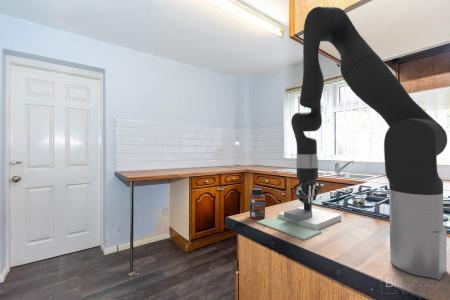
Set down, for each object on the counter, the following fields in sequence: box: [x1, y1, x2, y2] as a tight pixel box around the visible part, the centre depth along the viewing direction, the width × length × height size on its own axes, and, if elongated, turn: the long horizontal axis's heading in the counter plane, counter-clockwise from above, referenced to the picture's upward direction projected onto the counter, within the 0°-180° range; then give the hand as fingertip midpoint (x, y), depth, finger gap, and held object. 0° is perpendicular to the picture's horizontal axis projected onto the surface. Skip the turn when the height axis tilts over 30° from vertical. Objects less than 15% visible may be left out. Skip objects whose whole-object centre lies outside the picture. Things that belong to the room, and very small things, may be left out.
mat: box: [256, 216, 322, 241], centre depth 77 cm, size 20×9×1 cm, turn 36°
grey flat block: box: [283, 207, 312, 222], centre depth 81 cm, size 6×8×2 cm
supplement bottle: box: [249, 187, 266, 220], centre depth 88 cm, size 6×6×11 cm
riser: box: [277, 205, 342, 231], centre depth 84 cm, size 16×16×2 cm
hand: (307, 212), depth 84 cm, fingers closed
